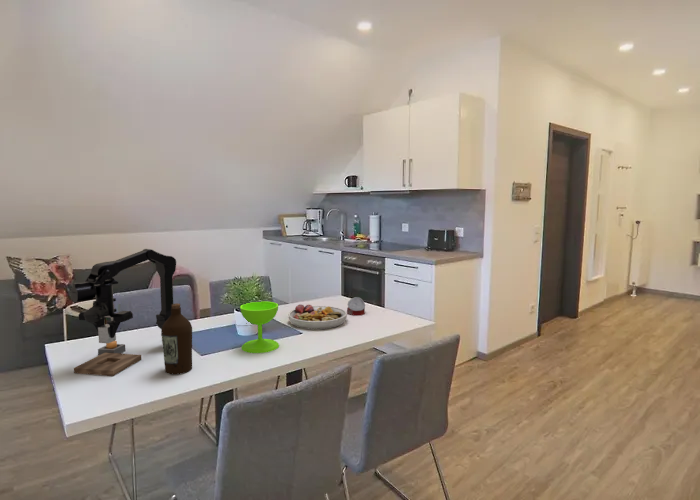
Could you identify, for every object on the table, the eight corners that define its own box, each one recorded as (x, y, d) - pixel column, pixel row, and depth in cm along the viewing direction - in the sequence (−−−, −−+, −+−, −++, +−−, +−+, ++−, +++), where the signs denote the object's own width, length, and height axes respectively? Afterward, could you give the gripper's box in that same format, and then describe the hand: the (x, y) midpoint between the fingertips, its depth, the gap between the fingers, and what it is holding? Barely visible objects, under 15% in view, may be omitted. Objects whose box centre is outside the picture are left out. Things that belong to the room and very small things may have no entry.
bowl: (357, 320, 227) (357, 305, 226) (324, 335, 202) (324, 319, 201) (312, 312, 243) (312, 298, 242) (276, 325, 218) (276, 310, 217)
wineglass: (233, 350, 181) (232, 308, 179) (254, 338, 196) (253, 300, 194) (266, 355, 175) (265, 312, 173) (285, 342, 190) (285, 303, 188)
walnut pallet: (141, 359, 170) (141, 354, 170) (113, 376, 155) (113, 370, 154) (105, 357, 173) (104, 352, 173) (74, 373, 157) (73, 368, 157)
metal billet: (116, 339, 164) (114, 324, 164) (108, 343, 160) (107, 327, 160) (106, 339, 165) (105, 324, 164) (99, 342, 161) (97, 327, 160)
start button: (119, 347, 178) (118, 340, 178) (112, 350, 174) (112, 343, 174) (110, 346, 179) (110, 340, 178) (104, 349, 175) (103, 343, 175)
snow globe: (364, 320, 242) (372, 306, 239) (354, 322, 234) (363, 307, 231) (349, 308, 247) (357, 294, 244) (339, 310, 239) (348, 295, 236)
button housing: (125, 351, 180) (125, 344, 179) (114, 357, 173) (113, 350, 172) (110, 350, 181) (110, 343, 180) (98, 356, 174) (97, 349, 173)
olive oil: (178, 362, 167) (175, 299, 164) (200, 366, 163) (197, 302, 160) (156, 373, 157) (153, 306, 154) (179, 377, 154) (176, 309, 151)
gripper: (64, 301, 154) (68, 343, 156) (111, 303, 151) (114, 346, 153) (88, 294, 165) (91, 333, 167) (132, 296, 162) (135, 336, 164)
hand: (107, 337), depth 162 cm, fingers closed on metal billet, 4 cm apart
